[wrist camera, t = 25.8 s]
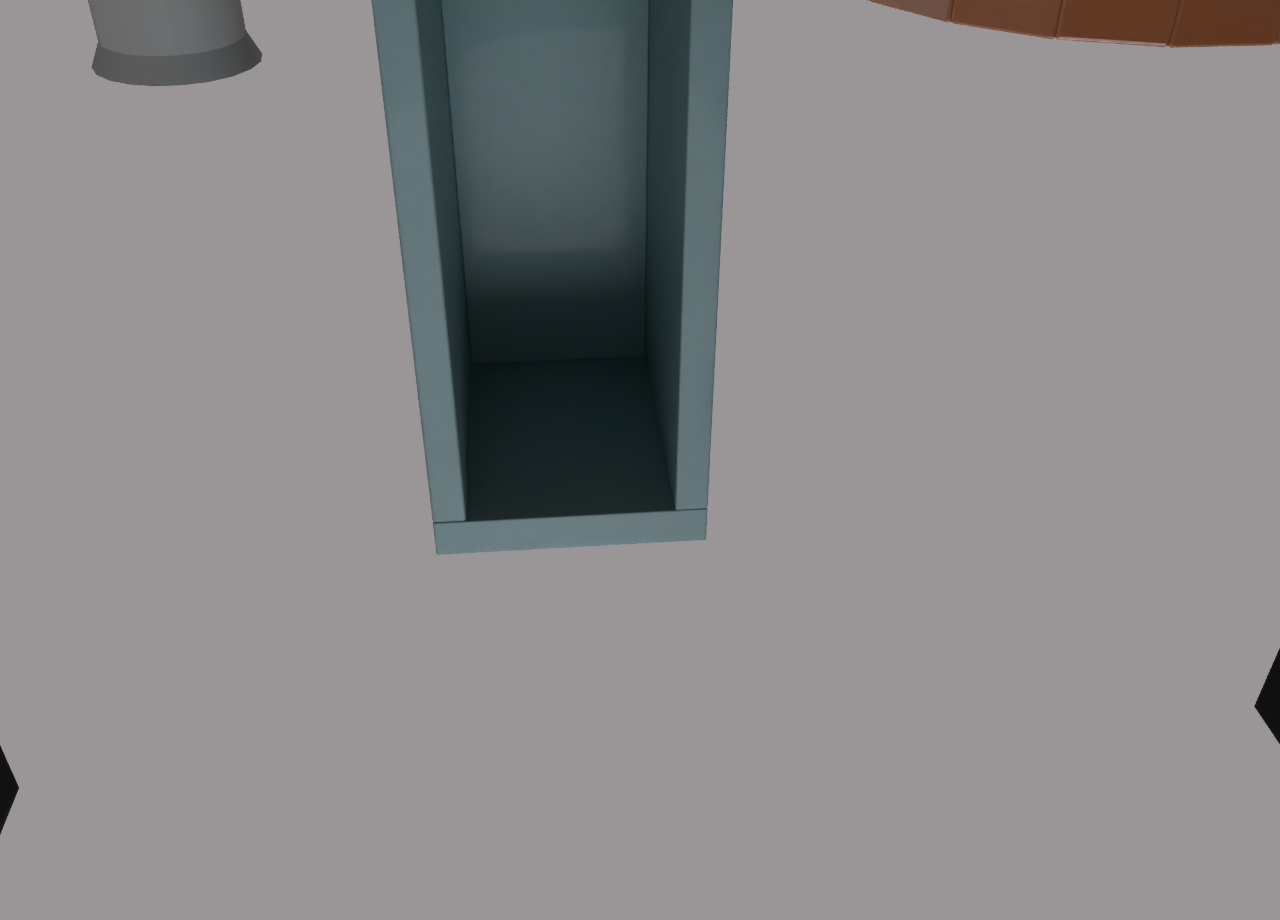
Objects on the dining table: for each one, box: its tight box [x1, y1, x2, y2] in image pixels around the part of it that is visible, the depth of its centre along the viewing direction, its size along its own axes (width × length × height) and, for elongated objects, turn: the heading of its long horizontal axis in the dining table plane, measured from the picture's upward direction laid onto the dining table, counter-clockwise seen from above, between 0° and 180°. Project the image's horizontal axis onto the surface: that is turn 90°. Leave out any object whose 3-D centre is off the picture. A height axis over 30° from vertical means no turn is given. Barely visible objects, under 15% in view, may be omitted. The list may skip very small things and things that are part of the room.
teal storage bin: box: [372, 0, 733, 555], centre depth 41 cm, size 10×12×30 cm
